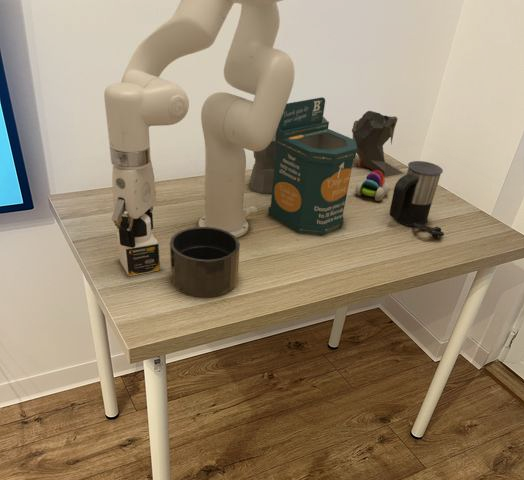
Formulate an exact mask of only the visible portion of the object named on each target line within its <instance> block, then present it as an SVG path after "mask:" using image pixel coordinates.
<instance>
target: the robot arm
mask: <svg viewBox="0 0 524 480" xmlns="http://www.w3.org/2000/svg"><path fill="white" fill-rule="evenodd" d="M281 1H283V0H180V2H179V3H178V6H177V8H176V10H175V11H174V13H173V14H172V16H171V17H170V18H169V19H168V20H167V21H165V22H163V23H162V24H161V25H159V26H158V27H157V28H156V29H155V30H154V31H152V32H151V33H150V34H149V35H148V36H146V37H145V39H143V40H142V41H141V43H139V45H138V46H137V47H136V49H135V51H134V52H133V54H132V55H131V58H130V60H129V61H128V64H127V66H126V68H125V69H124V73H123V75H122V78H121V81H120V82H115V83H112V84H109V85H107V87H105V88H104V89H105V90H104V93H103V97H104V105H105V106H104V107H105V116H106V125H107V136H108V144H109V145H108V146H109V155H110V163H111V165H112V179H111V180H112V200H113V208H114V211H113V213H112V216H111V220H112V222H113V223H114V225H115V226H116V229H118V233H119V238H120V244H121V245H123V246H127V247H132V248H134V247H135V236H134V230H133V229H132V225H133V220H134V219H138V218H139V217H140V216H142V215H143V214H146V215H148V216H149V217H150V220H151V231H152V230H153V229H154V220H153V211H154V205H155V203H157V193H156V191H157V190H156V181H155V175H154V167H153V163H152V159H151V158H152V157H151V144H150V127H158V126H160V127H161V126H163V127H164V126H172V125H176V124H178V123H180V122H181V121H182V120H184V118H185V117H186V116H187V114H188V113H189V112H188V111H189V108H190V100H189V96H188V94H187V92H186V91H185V90H184V89H183V88H182V87H181V86H180V85H178V84H176V83H174V82H172V81H170V80H167V79H163V78H162V77H160V76H161V74H162V73H163V72H164V70H166V68H167V67H168V66H169V65H170V64H172V63H173V62H175V61H176V60H179V59H180V58H182V57H185V56H188V55H192V54H195V53H198V52H201V51H204V50H206V49H209V48H210V47H212V46H213V45H214V43H215V41H216V39H217V37H218V36H219V33H220V31H221V29H222V27H223V25H224V23H225V21H226V19H227V18H228V15H229V13H230V11H231V9H232V7H233V6H234V4H239V5H240V7H241V8H240V15H239V19H238V22H237V26H236V29H235V31H234V35H233V38H232V41H231V43H230V47H229V49H228V52H227V55H226V59H225V62H224V67H223V77H224V80H225V82H226V83H227V85H229V86H231V87H232V88H234V89H236V90H239V91H241V92H244V93H247V94H249V95H253V96H254V97H253V100H249V99H248V98H245V97H243V96H238V95H236V94H233V93H230V92H229V93H228V92H221V91H219V92H214V93H212V94H211V95H209V96H208V97H207V98H206V99H205V100H204V102H203V104H202V107H201V111H200V121H201V122H200V124H201V128H202V134H203V140H204V155H205V159H204V160H205V162H204V163H205V166H204V215H203V216H202V217H200V218H199V220H198V227H213V228H218V229H222V230H225V231H227V232H229V233H231V234H233V235H234V236H235V237H236V238H237V239H238V238H240V237H242V236H244V235H246V234H247V233H248V231H249V222H248V221H247V218H249V216H252V215H254V214H256V213H257V211H258V210H257V208H256V206H255V205H251V206H248V207H247V206H246V204H244V202H245V187H246V186H245V185H246V184H245V183H246V182H245V181H246V169H247V157H246V156H247V155H246V151H245V150H247V151H251V152H253V151H255V152H258V151H262V150H264V149H265V148H266V147H267V146H268V145H269V144H270V143H271V141H272V139H273V137H274V135H275V133H276V130H277V128H278V125H279V122H280V120H281V117H282V114H283V112H284V109H285V107H286V104H287V103H288V101H289V99H290V96H291V93H292V90H293V87H294V81H295V65H294V62H293V59H292V58H291V56H290V55H289V54H288V53H286V52H285V51H283V50H280V49H278V48H274V45H275V42H276V40H277V36H278V32H279V29H280V25H281V24H280V23H281V21H280V19H281V17H280V11H279V6H278V3H279V2H281ZM125 212H127V213H125ZM128 214H129V215H128ZM124 217H127V218H129V219H128V224H127V223H126V222H125V221H123V218H124Z"/></svg>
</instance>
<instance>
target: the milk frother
mask: <svg viewBox="0 0 524 480" xmlns="http://www.w3.org/2000/svg"><path fill="white" fill-rule="evenodd" d="M407 167H408V168H407V171H406V174H404V175H402V176H401V177H400V178H399V179H398V180H397V182H396V183H395V186H394V187H393V194H392V199H391V202H390V208H389V216H390V217H392V218H394V219H395V220H396V222H398V223H400V224H402V225H405V226H409V227H415V228H416V229H418V230H420V231H424V232H425V233H426V232H427V233H428V234H430V235H431V236H432V237H433V238H434V237H435V238H439V237H443V236H444V235H445V232H443V231H442V228H441V227H439V226H434V227H432V226H427V224H428V222H429V221H428V219H429V218H428V217H429V215H430V212H431V211H430V210H431V208H432V204H433V201H434V197H435V195H436V191H437V187H438V185H439V182H440V178H441V176H442V175H441V174H443V173H444V170H443V168H442V167H441V166H440V165H437V164H435V163H433V162H429V161H424V160H413V161H410V162H408V163H407Z"/></svg>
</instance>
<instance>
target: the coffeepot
mask: <svg viewBox="0 0 524 480" xmlns="http://www.w3.org/2000/svg"><path fill="white" fill-rule="evenodd" d="M275 136H276V133H275V135H274V137H273V139H272V141H271V143H270V144H269V145H268V146H267V147H266V148H265V149H264V150H262V151H258V152H255V151H252V152H253V159H254V163H253V166H252V171H251V175H250V179H249V182H248V185H249V188H250V190H252V191H253V192H256V193H259V194H265V195H266V194H267V195H268V194H272V187H273V177H274V166H275V156H276V146H275Z"/></svg>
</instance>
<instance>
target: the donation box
mask: <svg viewBox="0 0 524 480" xmlns="http://www.w3.org/2000/svg"><path fill="white" fill-rule="evenodd" d="M325 106H326V98H325V97H317V98H310V99H306V100H304V99H303V100H299V101H293V102H287V104H286V107H285V109H284V112H283V114H282V117H281V120H280V122H279V125H278V128H277V130H276V136H275V146H276V156H275V166H274V177H273V187H272V193H271V199H270V206H268V211H267V216H269V217H270V218H271V219H273V220H276V221H277V222H279V223H281V224H282V225H284V226H286V227H287V228H289V229H291V230H292V231H294V232H296V233H297V234H304V235H312V236H313V235H314V236H324V235H328V234H330V233H332V232H336V231H337V230H340V229H342V228H343V225H344V224H343V223H344V211H345V206H346V201H347V196H348V191H349V185H350V180H351V175H352V169H353V164H354V160H355V159H356V157H357V153H356V152H357V146H356V141H355V140H354V139H353V138H352V137H349V136H347V135H344V134H342V133H339V132H337V131H335V130H332V129H329V125H330V121H329V120H327V118H326V117H324V112H325Z"/></svg>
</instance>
